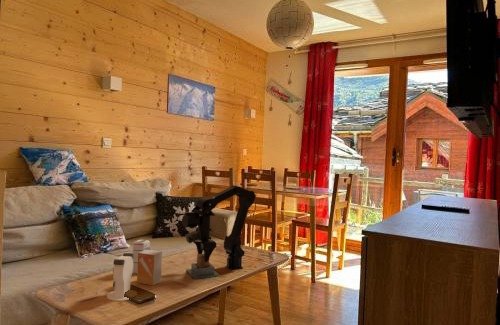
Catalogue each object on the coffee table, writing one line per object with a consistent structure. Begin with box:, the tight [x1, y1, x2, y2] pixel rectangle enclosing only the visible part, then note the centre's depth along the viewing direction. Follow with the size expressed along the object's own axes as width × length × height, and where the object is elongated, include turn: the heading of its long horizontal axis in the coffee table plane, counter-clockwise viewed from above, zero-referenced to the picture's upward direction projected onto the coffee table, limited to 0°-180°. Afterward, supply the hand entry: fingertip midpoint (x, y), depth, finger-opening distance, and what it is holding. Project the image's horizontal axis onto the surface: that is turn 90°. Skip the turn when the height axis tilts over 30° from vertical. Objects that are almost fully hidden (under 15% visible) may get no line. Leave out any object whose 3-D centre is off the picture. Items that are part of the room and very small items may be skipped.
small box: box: [136, 249, 163, 286], centre depth 156 cm, size 8×6×13 cm
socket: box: [186, 262, 220, 280], centre depth 170 cm, size 12×12×4 cm
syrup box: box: [132, 239, 151, 274], centre depth 169 cm, size 6×6×14 cm
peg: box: [196, 253, 210, 268], centre depth 170 cm, size 4×4×8 cm
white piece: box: [106, 252, 134, 302], centre depth 141 cm, size 12×11×15 cm
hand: (202, 259), depth 170 cm, fingers open, 9 cm apart
